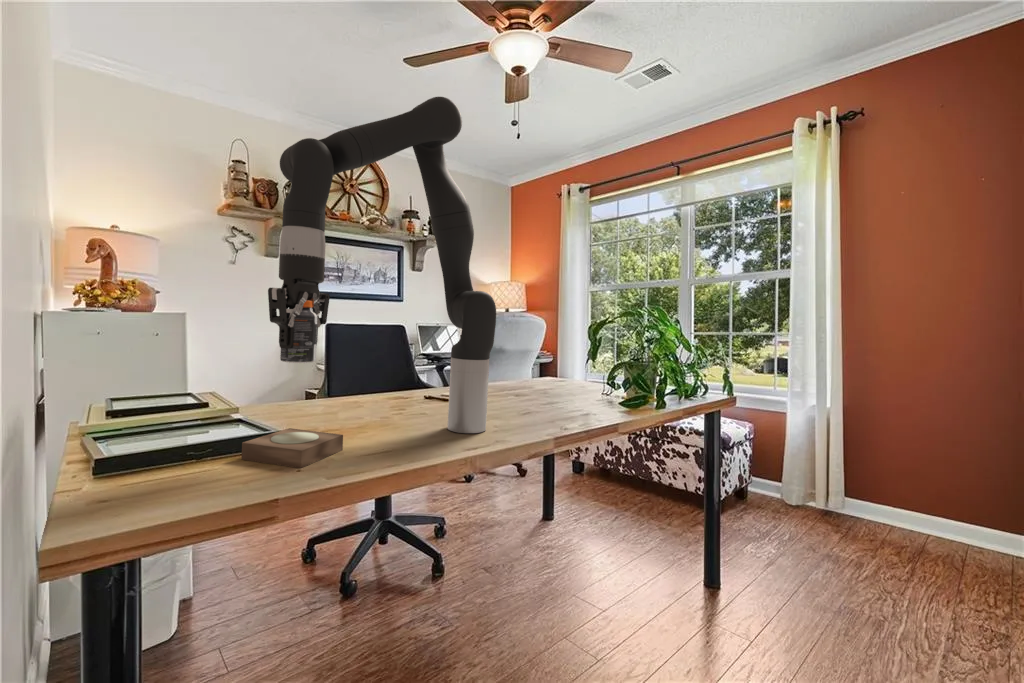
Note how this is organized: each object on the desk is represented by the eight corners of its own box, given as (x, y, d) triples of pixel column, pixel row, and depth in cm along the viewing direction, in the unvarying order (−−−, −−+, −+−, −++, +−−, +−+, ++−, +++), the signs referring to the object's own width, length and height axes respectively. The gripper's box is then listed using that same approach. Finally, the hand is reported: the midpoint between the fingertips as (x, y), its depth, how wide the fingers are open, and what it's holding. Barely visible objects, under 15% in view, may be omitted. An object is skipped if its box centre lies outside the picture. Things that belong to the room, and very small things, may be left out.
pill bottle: (321, 361, 89) (324, 301, 88) (305, 364, 83) (307, 299, 82) (291, 359, 89) (294, 299, 89) (272, 361, 83) (275, 297, 83)
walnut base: (289, 443, 94) (289, 427, 94) (342, 450, 91) (343, 433, 91) (241, 459, 82) (242, 441, 82) (301, 468, 80) (301, 449, 79)
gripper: (293, 249, 77) (289, 351, 78) (344, 261, 91) (340, 347, 92) (254, 248, 79) (251, 348, 80) (310, 260, 93) (306, 345, 94)
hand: (298, 347), depth 86 cm, fingers closed on pill bottle, 6 cm apart
